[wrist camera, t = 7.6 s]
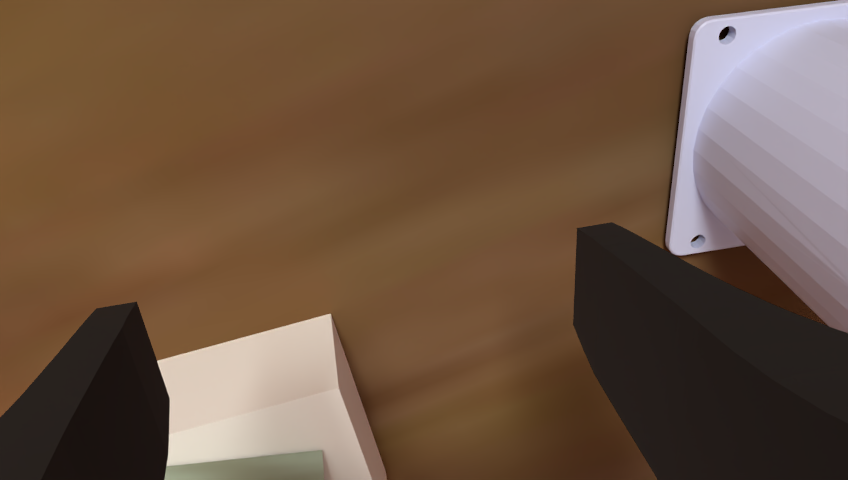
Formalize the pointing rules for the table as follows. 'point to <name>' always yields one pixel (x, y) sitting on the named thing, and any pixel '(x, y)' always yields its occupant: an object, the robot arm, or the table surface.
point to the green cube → (254, 468)
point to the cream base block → (271, 402)
